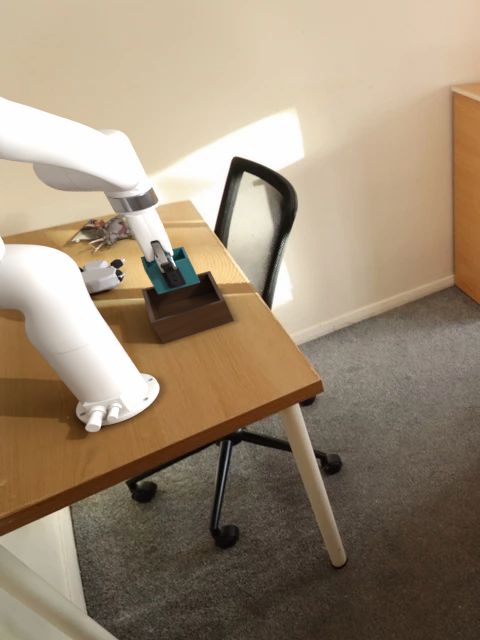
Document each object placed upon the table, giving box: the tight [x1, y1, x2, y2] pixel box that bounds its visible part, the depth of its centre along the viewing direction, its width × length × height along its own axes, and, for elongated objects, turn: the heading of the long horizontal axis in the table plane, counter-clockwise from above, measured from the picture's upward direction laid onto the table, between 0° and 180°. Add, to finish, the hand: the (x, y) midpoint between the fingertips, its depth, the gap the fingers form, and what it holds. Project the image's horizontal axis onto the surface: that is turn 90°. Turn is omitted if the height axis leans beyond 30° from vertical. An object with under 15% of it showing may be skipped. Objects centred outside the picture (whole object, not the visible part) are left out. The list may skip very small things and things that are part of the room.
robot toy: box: [78, 258, 126, 295], centre depth 116 cm, size 12×4×15 cm
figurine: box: [67, 214, 135, 254], centre depth 134 cm, size 20×6×17 cm
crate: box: [141, 270, 235, 345], centre depth 106 cm, size 16×14×6 cm
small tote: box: [140, 246, 200, 294], centre depth 101 cm, size 8×6×6 cm
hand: (174, 278), depth 102 cm, fingers closed on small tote, 6 cm apart
